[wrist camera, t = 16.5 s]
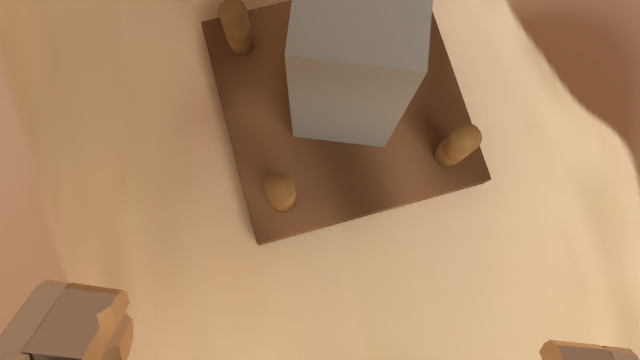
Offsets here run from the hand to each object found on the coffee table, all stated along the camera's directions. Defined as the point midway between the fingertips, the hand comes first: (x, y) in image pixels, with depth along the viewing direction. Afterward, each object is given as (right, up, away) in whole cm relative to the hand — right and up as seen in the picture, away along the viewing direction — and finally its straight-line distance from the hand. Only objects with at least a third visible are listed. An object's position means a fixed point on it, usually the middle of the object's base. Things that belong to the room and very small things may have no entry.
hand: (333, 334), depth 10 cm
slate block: (+1, +8, +18) cm, 19 cm away
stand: (+1, +7, +19) cm, 20 cm away
